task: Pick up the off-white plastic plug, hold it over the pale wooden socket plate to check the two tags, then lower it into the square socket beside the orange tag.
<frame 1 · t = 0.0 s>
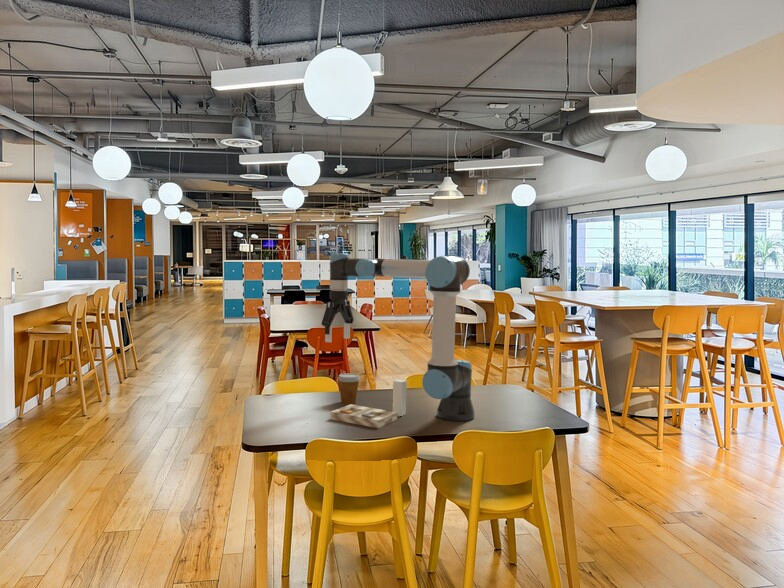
hand: (337, 340, 261), 28 cm above the table, tool pointing down, fingers open, 13 cm apart
disposable coffee cup: (348, 403, 269), on the table
plug: (399, 414, 251), on the table
socket plate: (363, 419, 243), on the table
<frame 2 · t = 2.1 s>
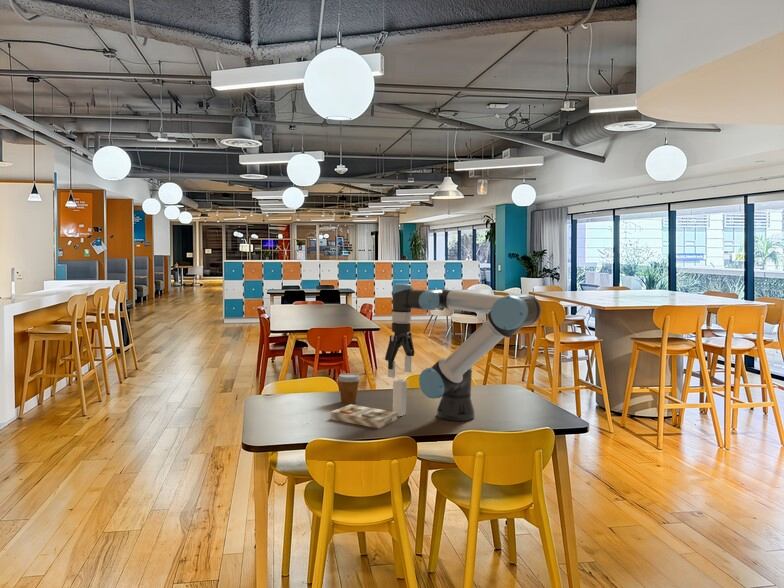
hand: (399, 374, 250), 16 cm above the table, tool pointing down, fingers open, 13 cm apart
nothing on the table moved.
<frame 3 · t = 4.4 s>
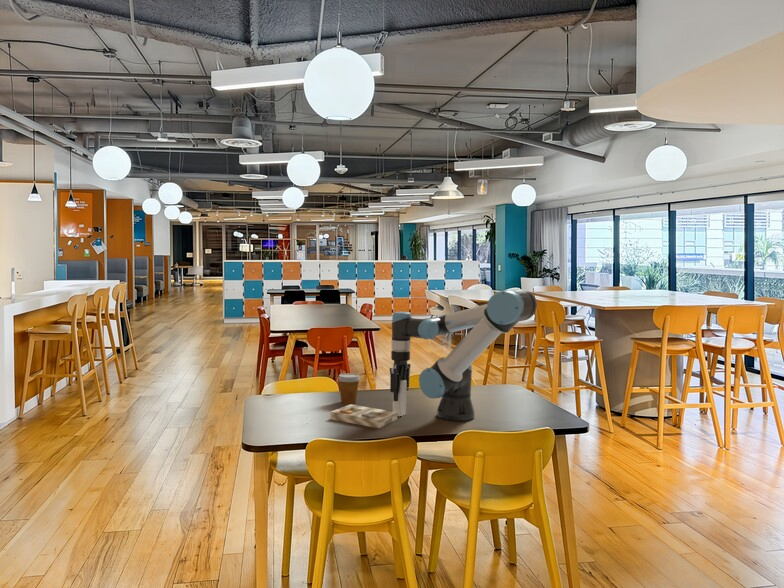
hand: (399, 407, 251), 3 cm above the table, tool pointing down, fingers closed on plug, 4 cm apart
plug: (399, 414, 251), on the table, touching gripper
everything else where it was.
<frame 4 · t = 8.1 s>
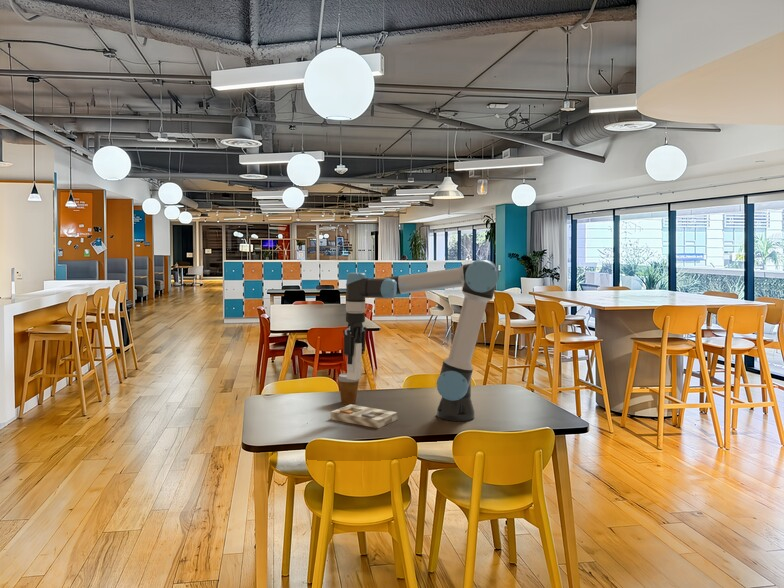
hand: (354, 371, 244), 19 cm above the table, tool pointing down, fingers closed on plug, 4 cm apart
plug: (353, 378, 244), point 16 cm above the table, touching gripper
everything else where it was.
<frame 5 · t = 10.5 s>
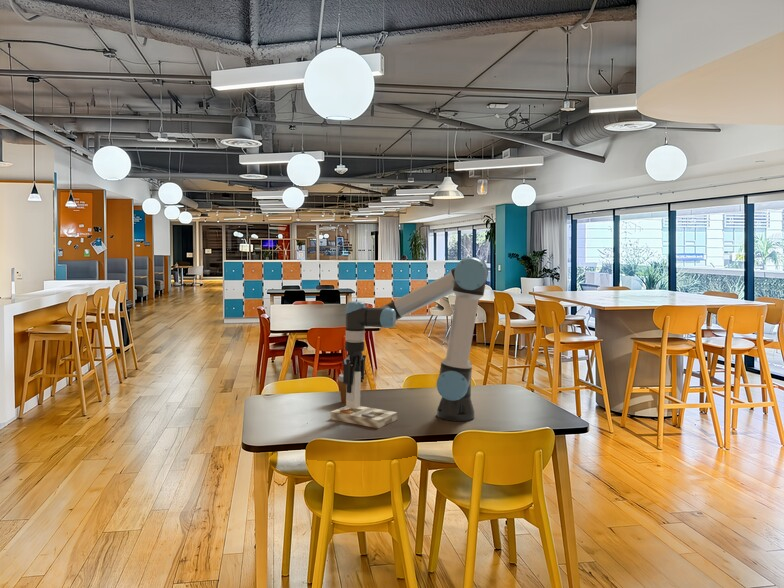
hand: (353, 399, 245), 7 cm above the table, tool pointing down, fingers closed on plug, 4 cm apart
plug: (353, 406, 245), point 4 cm above the table, touching gripper
everything else where it was.
when the fingers open (5 cm above the table, at t = 12.2 s): plug drops 2 cm, resting in socket plate.
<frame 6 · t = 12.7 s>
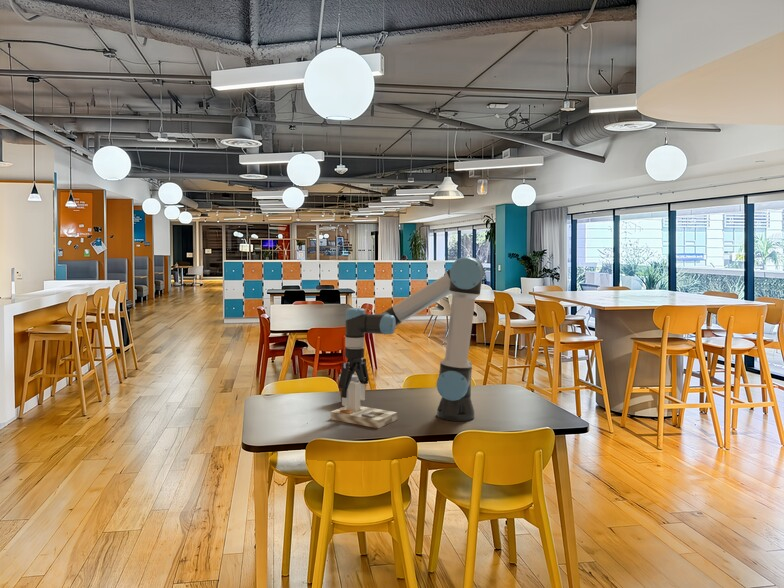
hand: (353, 402, 245), 6 cm above the table, tool pointing down, fingers open, 11 cm apart
plug: (353, 417, 245), resting in socket plate
everything else where it was.
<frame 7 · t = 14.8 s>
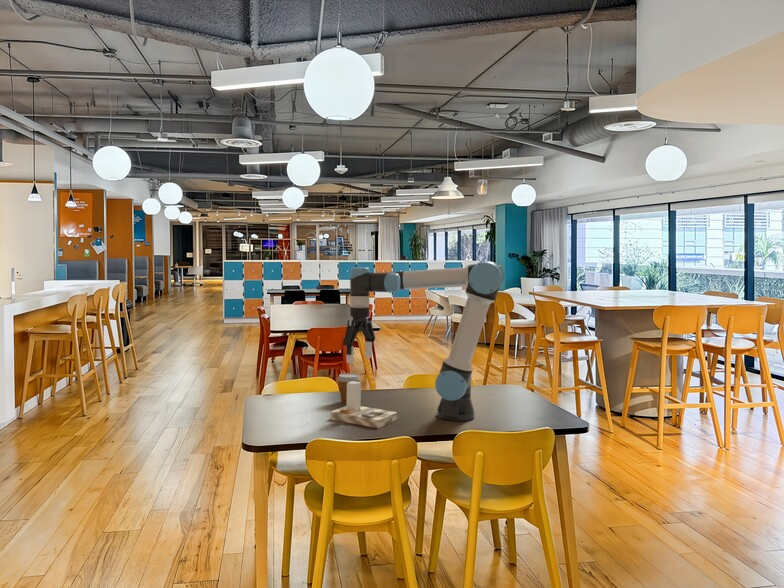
hand: (359, 360, 244), 23 cm above the table, tool pointing down, fingers open, 13 cm apart
nothing on the table moved.
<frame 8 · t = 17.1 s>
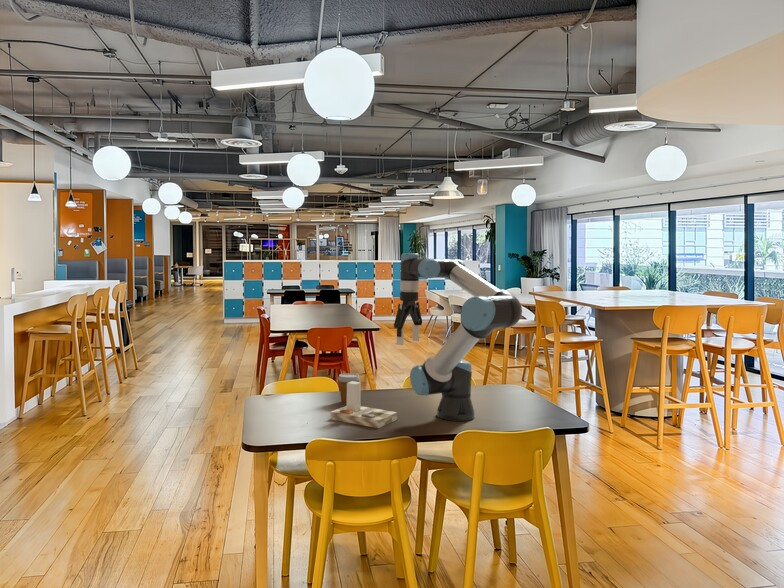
hand: (407, 342, 254), 29 cm above the table, tool pointing down, fingers open, 13 cm apart
nothing on the table moved.
at the end: plug 0.0 cm from the target spot on the socket plate, point 0.0 cm above the socket plate's base; plug tilted 0°; the gripper is holding nothing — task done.
